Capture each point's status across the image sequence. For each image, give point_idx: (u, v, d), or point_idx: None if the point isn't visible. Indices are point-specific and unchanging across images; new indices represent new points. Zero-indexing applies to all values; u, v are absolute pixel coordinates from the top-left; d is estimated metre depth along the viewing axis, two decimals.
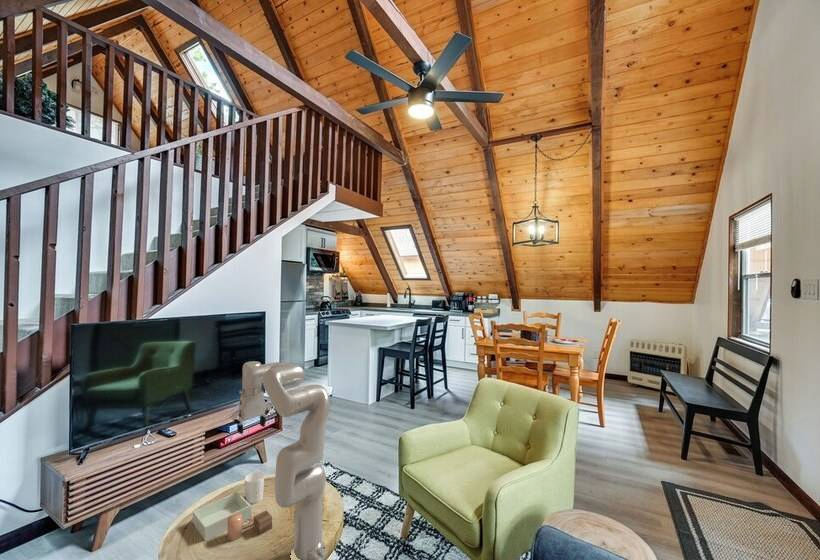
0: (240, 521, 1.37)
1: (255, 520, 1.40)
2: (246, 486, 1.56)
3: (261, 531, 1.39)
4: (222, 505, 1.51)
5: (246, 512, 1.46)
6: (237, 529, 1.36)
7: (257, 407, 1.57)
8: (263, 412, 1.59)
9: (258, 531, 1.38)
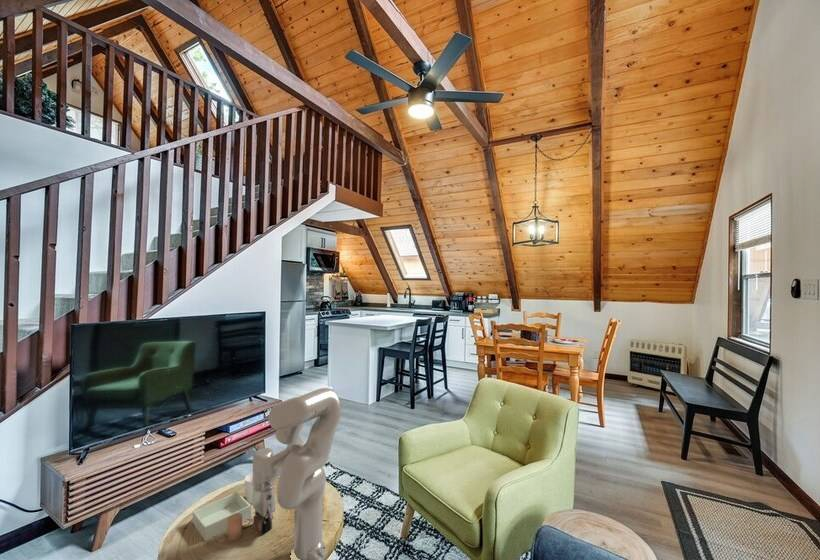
0: (240, 521, 1.37)
1: (255, 520, 1.40)
2: (246, 486, 1.56)
3: (261, 531, 1.39)
4: (222, 505, 1.51)
5: (246, 512, 1.46)
6: (237, 529, 1.36)
7: None
8: None
9: (258, 531, 1.38)
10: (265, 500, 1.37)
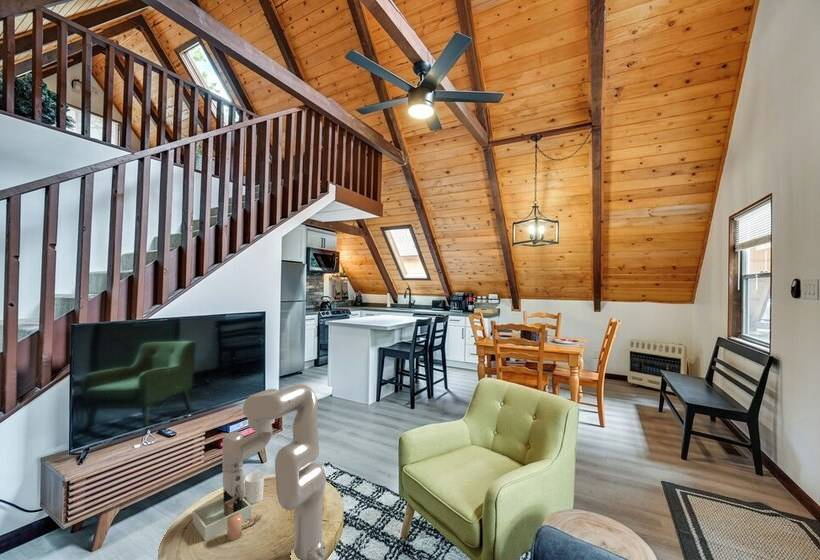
0: (240, 521, 1.37)
1: (225, 506, 1.47)
2: (246, 486, 1.56)
3: None
4: (222, 505, 1.51)
5: (246, 512, 1.46)
6: (237, 529, 1.36)
7: None
8: None
9: None
10: (234, 481, 1.44)
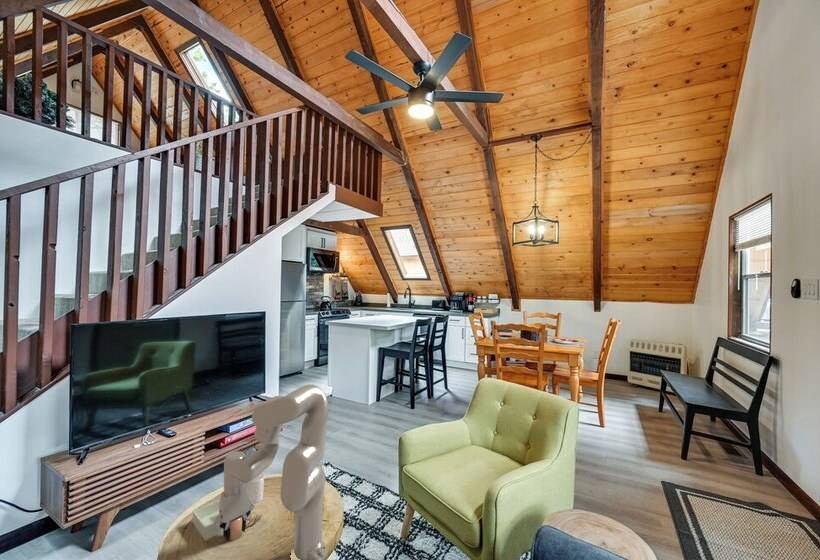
0: (240, 521, 1.37)
1: None
2: None
3: None
4: None
5: None
6: (238, 529, 1.36)
7: None
8: None
9: None
10: (248, 494, 1.40)
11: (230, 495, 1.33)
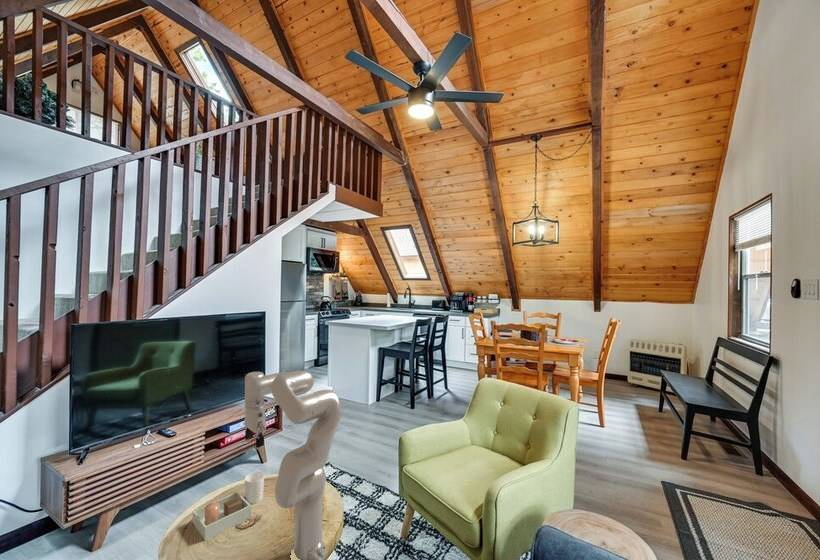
0: (207, 512, 1.40)
1: (225, 506, 1.47)
2: (246, 486, 1.56)
3: None
4: (222, 505, 1.51)
5: (246, 512, 1.46)
6: (205, 518, 1.40)
7: None
8: None
9: None
10: (256, 417, 1.48)
11: None
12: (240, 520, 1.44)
